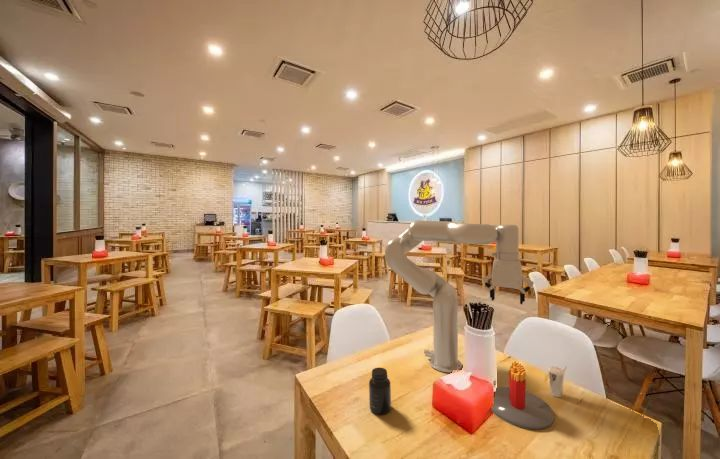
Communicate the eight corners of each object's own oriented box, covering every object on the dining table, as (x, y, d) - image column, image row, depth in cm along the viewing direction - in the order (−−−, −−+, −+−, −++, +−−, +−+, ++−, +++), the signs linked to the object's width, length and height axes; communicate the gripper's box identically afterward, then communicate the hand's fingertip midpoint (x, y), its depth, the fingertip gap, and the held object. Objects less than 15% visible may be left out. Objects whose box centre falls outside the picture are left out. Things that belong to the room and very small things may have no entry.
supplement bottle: (379, 398, 93) (378, 363, 93) (395, 408, 88) (395, 370, 88) (364, 408, 88) (364, 371, 88) (381, 419, 83) (380, 379, 83)
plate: (483, 414, 85) (483, 409, 85) (491, 385, 100) (491, 381, 100) (555, 438, 75) (555, 433, 75) (552, 402, 90) (552, 398, 90)
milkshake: (570, 399, 92) (570, 369, 91) (551, 397, 93) (552, 368, 92) (562, 391, 96) (563, 362, 96) (545, 389, 97) (545, 361, 97)
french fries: (507, 394, 92) (508, 358, 92) (521, 396, 91) (521, 360, 91) (512, 410, 84) (512, 371, 84) (527, 413, 83) (527, 373, 83)
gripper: (480, 256, 108) (480, 300, 108) (533, 259, 98) (533, 307, 99) (484, 254, 114) (484, 296, 114) (533, 257, 105) (533, 302, 105)
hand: (506, 301), depth 107 cm, fingers open, 9 cm apart
